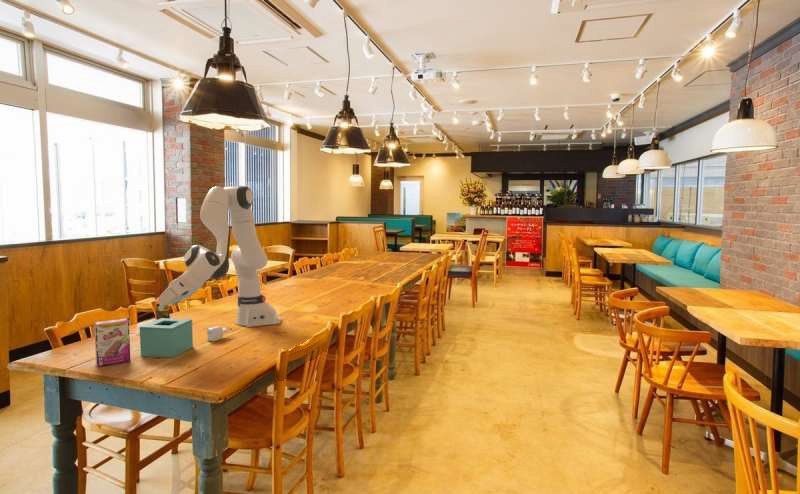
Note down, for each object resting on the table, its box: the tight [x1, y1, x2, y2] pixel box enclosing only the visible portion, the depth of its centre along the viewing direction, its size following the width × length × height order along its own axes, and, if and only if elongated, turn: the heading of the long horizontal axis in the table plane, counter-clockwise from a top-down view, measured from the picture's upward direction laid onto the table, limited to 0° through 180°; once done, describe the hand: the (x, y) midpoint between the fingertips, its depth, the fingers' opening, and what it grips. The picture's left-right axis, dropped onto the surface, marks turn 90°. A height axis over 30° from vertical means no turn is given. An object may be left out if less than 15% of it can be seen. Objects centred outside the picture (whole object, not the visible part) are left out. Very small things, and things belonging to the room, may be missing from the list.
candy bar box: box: [93, 318, 131, 368], centre depth 178 cm, size 11×5×16 cm, turn 128°
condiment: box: [155, 302, 171, 321], centre depth 227 cm, size 7×8×12 cm
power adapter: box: [206, 325, 233, 342], centre depth 211 cm, size 11×5×6 cm, turn 150°
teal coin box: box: [139, 318, 194, 358], centre depth 192 cm, size 14×14×12 cm
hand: (167, 306), depth 190 cm, fingers open, 8 cm apart
